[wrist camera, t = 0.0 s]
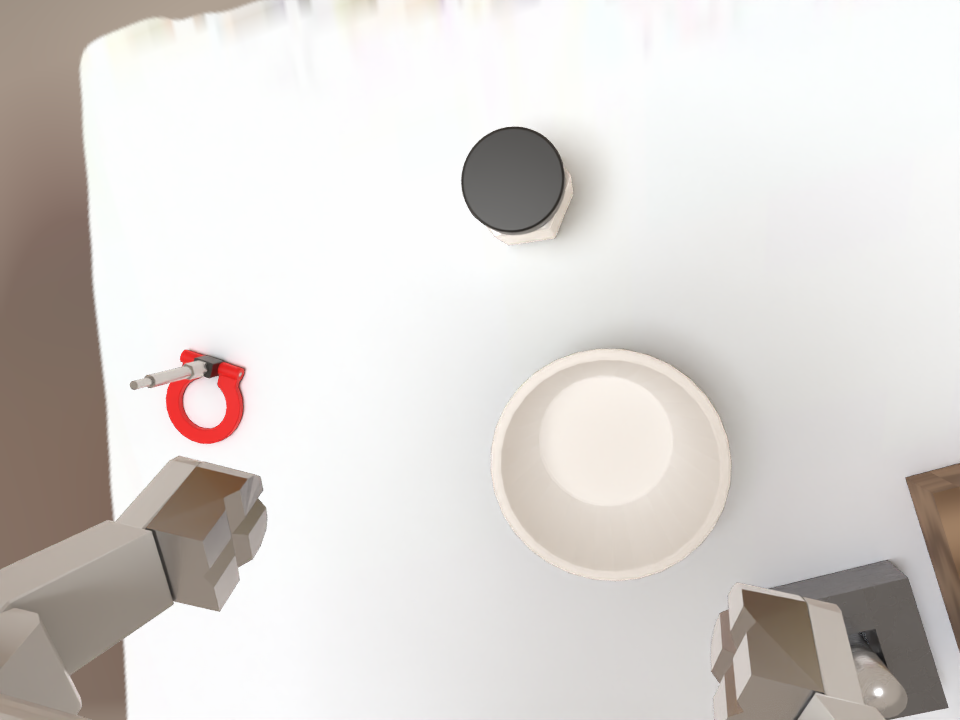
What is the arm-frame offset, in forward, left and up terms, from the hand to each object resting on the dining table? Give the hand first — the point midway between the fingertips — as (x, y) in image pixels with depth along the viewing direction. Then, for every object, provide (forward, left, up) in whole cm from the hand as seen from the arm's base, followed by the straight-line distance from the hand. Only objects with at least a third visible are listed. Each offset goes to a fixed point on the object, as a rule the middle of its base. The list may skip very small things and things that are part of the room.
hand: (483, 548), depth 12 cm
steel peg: (-34, -15, -54) cm, 66 cm away
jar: (+14, 0, -55) cm, 56 cm away
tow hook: (+6, +38, -55) cm, 67 cm away
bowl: (-10, 0, -55) cm, 56 cm away
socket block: (-34, -15, -54) cm, 66 cm away
